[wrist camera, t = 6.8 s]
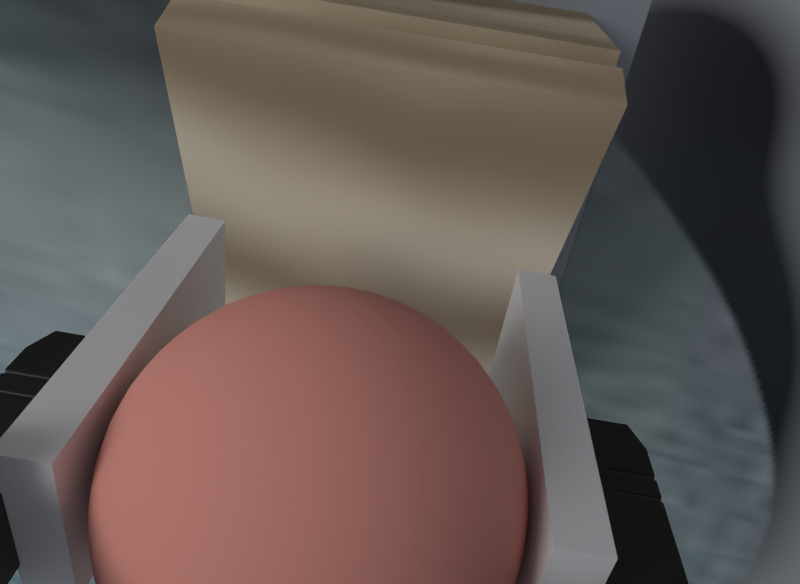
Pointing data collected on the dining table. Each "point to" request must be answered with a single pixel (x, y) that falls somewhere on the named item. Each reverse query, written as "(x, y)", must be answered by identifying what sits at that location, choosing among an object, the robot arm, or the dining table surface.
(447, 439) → the ball
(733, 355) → the dining table surface
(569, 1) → the runway
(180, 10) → the ramp
